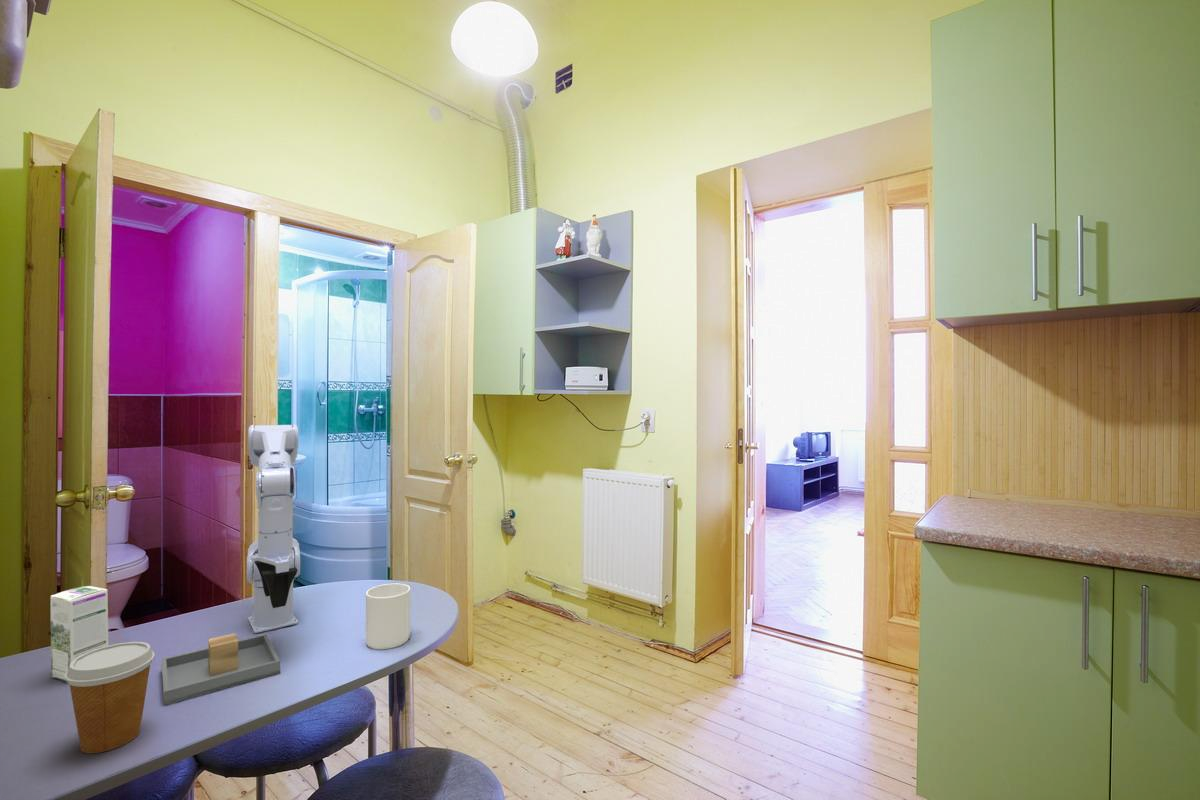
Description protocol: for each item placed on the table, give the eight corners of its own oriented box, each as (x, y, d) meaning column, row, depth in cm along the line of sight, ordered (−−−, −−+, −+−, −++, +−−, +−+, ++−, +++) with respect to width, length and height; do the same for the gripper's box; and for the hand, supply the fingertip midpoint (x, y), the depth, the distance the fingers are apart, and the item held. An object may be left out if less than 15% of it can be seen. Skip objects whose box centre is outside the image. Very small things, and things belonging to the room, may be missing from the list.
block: (208, 667, 97) (208, 639, 97) (235, 660, 99) (235, 633, 99) (210, 676, 94) (210, 647, 94) (238, 669, 96) (238, 640, 96)
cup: (375, 654, 103) (376, 601, 103) (351, 634, 112) (352, 585, 112) (417, 640, 109) (417, 590, 109) (391, 623, 118) (391, 576, 118)
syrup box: (110, 668, 97) (110, 587, 97) (69, 684, 92) (69, 598, 92) (90, 663, 99) (90, 583, 99) (48, 678, 94) (48, 594, 94)
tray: (161, 671, 96) (161, 658, 96) (266, 645, 107) (266, 634, 107) (164, 705, 86) (164, 691, 86) (280, 673, 96) (280, 660, 96)
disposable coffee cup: (102, 721, 82) (103, 641, 82) (170, 718, 82) (170, 639, 82) (43, 763, 72) (43, 673, 72) (120, 760, 73) (120, 670, 73)
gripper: (245, 526, 108) (245, 594, 108) (257, 541, 97) (256, 617, 97) (285, 521, 113) (285, 586, 113) (301, 535, 101) (301, 608, 101)
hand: (275, 600), depth 105 cm, fingers open, 7 cm apart
